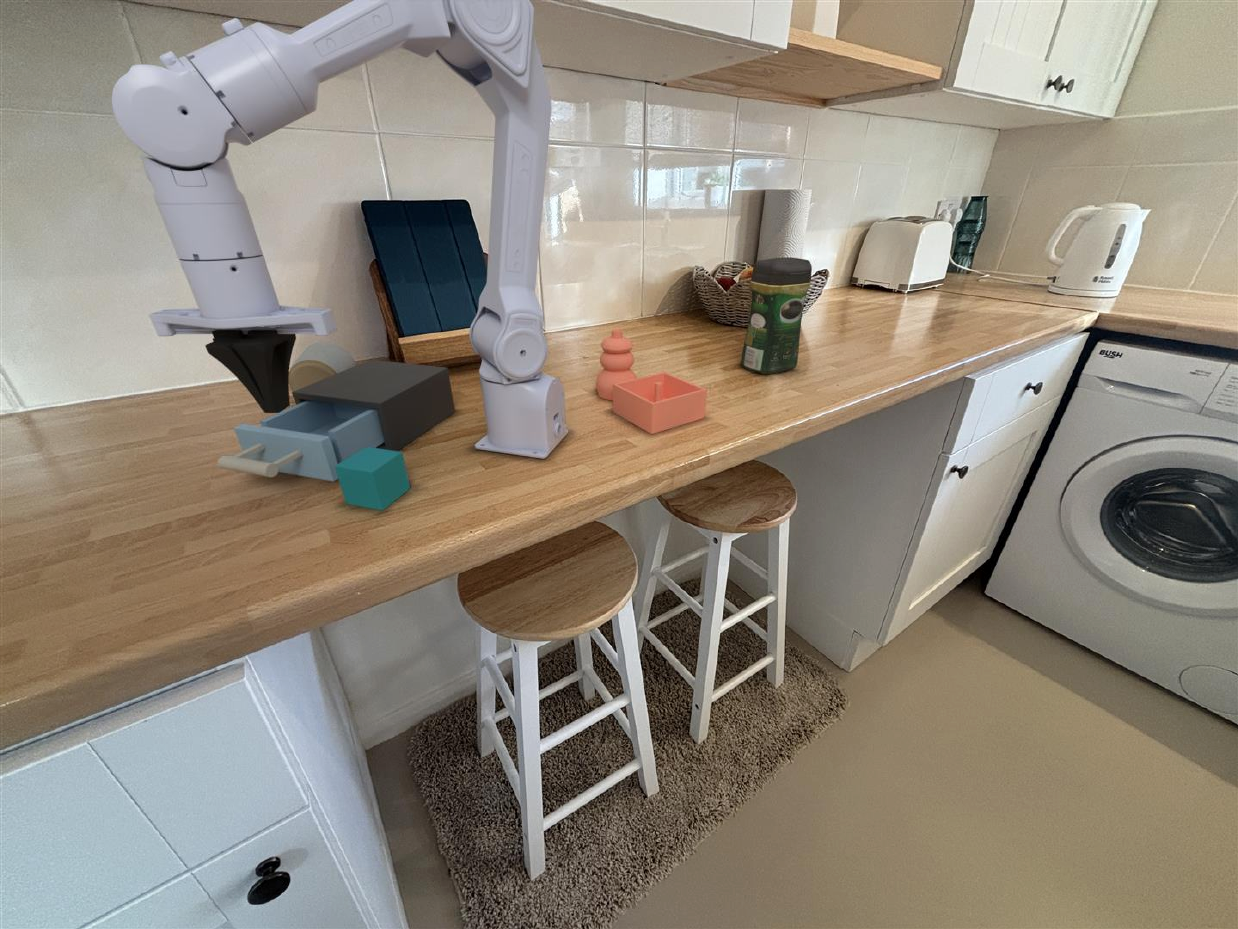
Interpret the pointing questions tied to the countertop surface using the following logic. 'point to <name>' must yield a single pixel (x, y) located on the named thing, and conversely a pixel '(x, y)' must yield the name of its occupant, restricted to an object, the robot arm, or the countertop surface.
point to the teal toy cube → (373, 478)
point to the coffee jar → (776, 314)
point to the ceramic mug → (319, 364)
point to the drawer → (305, 440)
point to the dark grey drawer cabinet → (390, 397)
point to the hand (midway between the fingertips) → (277, 409)
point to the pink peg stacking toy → (646, 390)
